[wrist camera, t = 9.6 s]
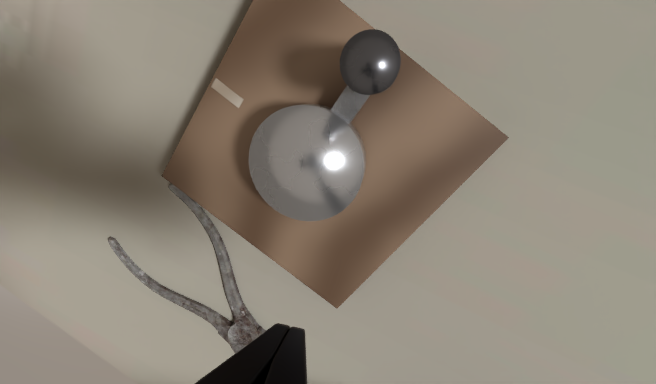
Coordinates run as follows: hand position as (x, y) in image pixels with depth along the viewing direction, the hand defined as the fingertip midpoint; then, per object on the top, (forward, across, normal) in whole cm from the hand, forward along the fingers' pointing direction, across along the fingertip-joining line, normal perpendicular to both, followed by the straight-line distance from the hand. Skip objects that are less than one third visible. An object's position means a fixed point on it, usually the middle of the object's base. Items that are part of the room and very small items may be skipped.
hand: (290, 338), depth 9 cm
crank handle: (+10, +1, -5) cm, 11 cm away
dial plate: (+12, +2, -3) cm, 13 cm away
